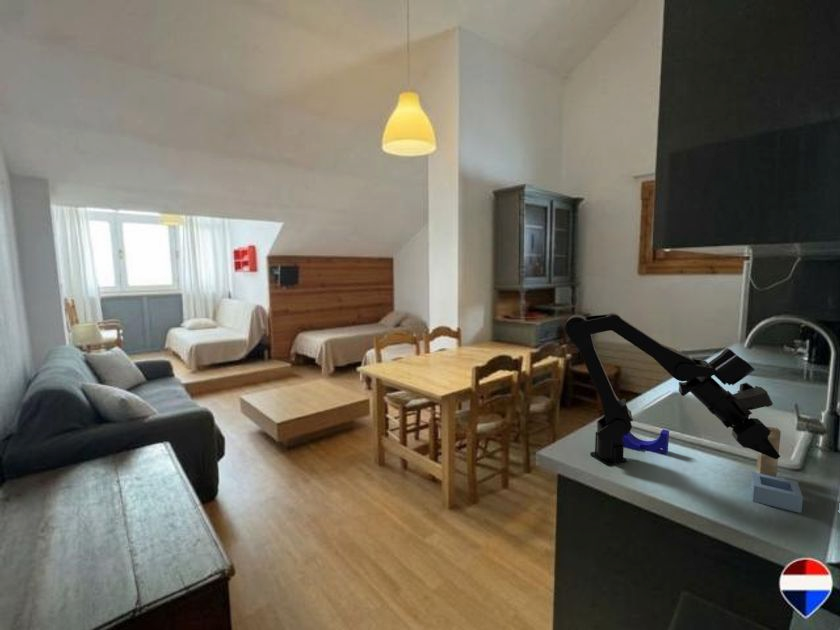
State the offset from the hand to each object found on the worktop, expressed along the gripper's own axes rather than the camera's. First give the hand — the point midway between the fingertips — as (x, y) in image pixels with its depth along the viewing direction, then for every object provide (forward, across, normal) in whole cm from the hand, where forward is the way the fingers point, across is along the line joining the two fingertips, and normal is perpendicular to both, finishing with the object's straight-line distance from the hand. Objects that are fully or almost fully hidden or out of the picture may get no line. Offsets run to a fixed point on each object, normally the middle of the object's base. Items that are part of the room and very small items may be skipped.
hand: (769, 448), depth 91 cm
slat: (+6, 0, +6) cm, 8 cm away
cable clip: (-11, +10, +23) cm, 28 cm away
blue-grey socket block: (+5, -7, +6) cm, 11 cm away
